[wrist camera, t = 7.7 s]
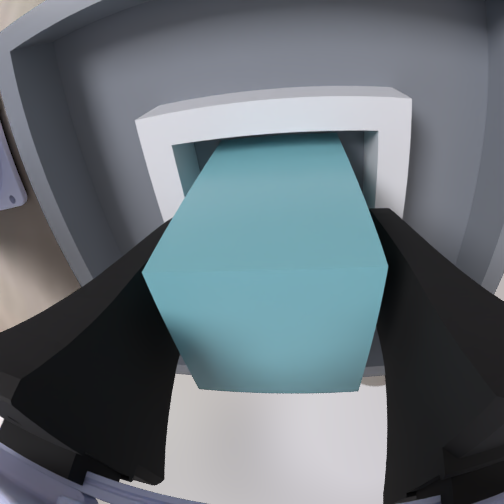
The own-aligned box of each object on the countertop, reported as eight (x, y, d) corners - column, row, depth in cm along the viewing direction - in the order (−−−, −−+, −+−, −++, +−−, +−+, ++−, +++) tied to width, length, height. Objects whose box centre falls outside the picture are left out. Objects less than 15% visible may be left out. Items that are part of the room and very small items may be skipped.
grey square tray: (150, 329, 19) (134, 368, 17) (40, 29, 8) (-10, 40, 6) (441, 325, 16) (454, 366, 14) (495, -16, 5) (542, -18, 3)
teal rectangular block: (238, 233, 13) (199, 388, 8) (221, 140, 11) (141, 272, 5) (336, 230, 12) (358, 391, 7) (336, 132, 10) (387, 266, 5)
